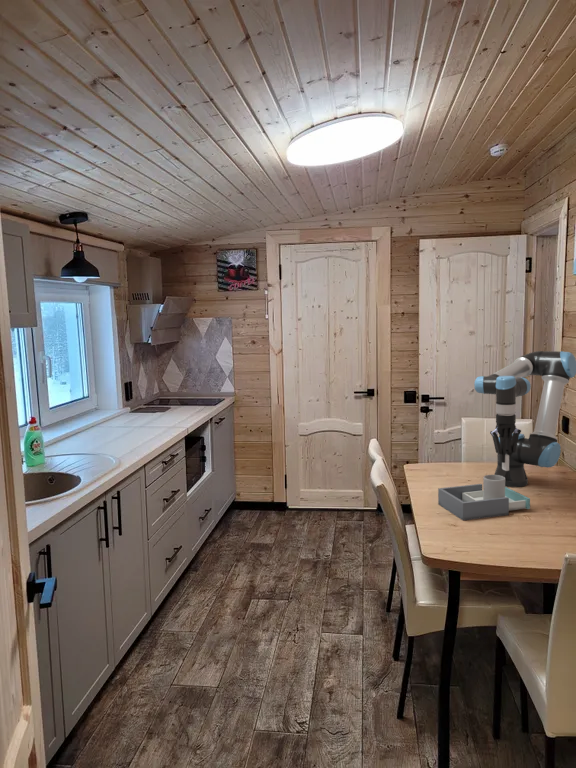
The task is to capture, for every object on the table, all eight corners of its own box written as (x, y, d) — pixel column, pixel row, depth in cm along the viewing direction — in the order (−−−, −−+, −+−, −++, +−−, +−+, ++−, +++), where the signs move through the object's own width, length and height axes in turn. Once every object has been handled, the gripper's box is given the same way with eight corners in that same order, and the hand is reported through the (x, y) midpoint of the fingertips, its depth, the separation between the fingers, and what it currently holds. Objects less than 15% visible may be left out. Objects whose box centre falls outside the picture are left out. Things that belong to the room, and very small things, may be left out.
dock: (480, 499, 240) (480, 483, 239) (508, 515, 221) (508, 497, 220) (438, 504, 236) (438, 488, 235) (463, 520, 216) (463, 503, 215)
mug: (503, 507, 223) (503, 481, 222) (481, 505, 227) (481, 479, 226) (507, 498, 233) (508, 473, 232) (486, 496, 237) (486, 471, 236)
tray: (502, 494, 241) (502, 485, 241) (529, 508, 223) (530, 498, 223) (460, 499, 237) (460, 489, 237) (485, 514, 219) (485, 503, 218)
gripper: (514, 411, 232) (514, 465, 235) (486, 413, 229) (486, 468, 232) (525, 414, 224) (525, 470, 227) (496, 416, 222) (496, 473, 225)
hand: (505, 469), depth 230 cm, fingers closed
